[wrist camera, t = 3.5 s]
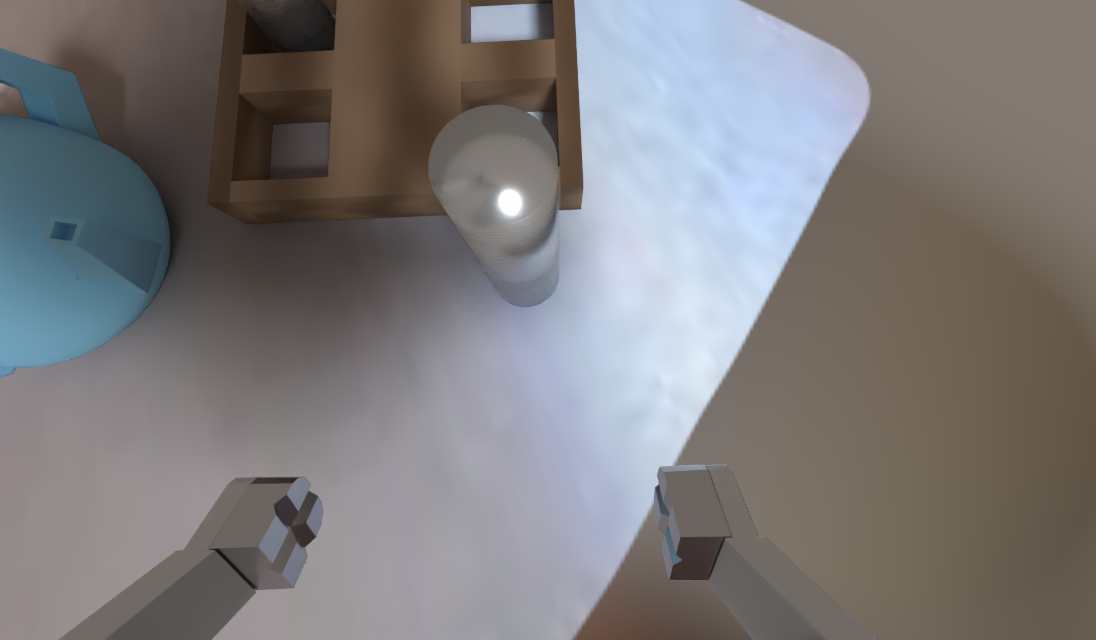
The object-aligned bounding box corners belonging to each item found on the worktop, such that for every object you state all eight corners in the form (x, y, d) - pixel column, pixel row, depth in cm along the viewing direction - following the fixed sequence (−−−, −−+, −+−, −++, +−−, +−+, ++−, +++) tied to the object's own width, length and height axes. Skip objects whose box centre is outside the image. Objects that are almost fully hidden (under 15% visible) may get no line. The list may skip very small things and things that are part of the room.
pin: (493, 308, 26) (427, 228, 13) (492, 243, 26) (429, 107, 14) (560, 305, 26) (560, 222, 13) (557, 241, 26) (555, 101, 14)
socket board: (246, 223, 27) (207, 203, 24) (263, 1, 30) (231, -41, 27) (580, 209, 27) (583, 186, 24) (570, -15, 29) (571, -61, 26)
